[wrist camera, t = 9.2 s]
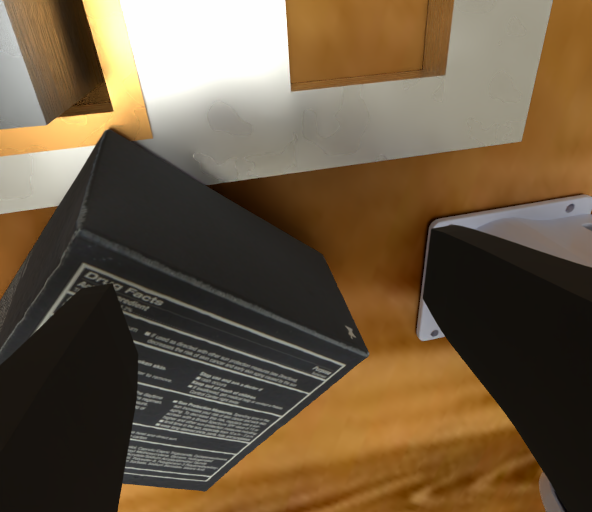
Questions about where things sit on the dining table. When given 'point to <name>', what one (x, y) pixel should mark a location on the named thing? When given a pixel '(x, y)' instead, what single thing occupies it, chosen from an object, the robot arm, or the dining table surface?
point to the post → (43, 60)
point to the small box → (189, 310)
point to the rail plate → (277, 95)
